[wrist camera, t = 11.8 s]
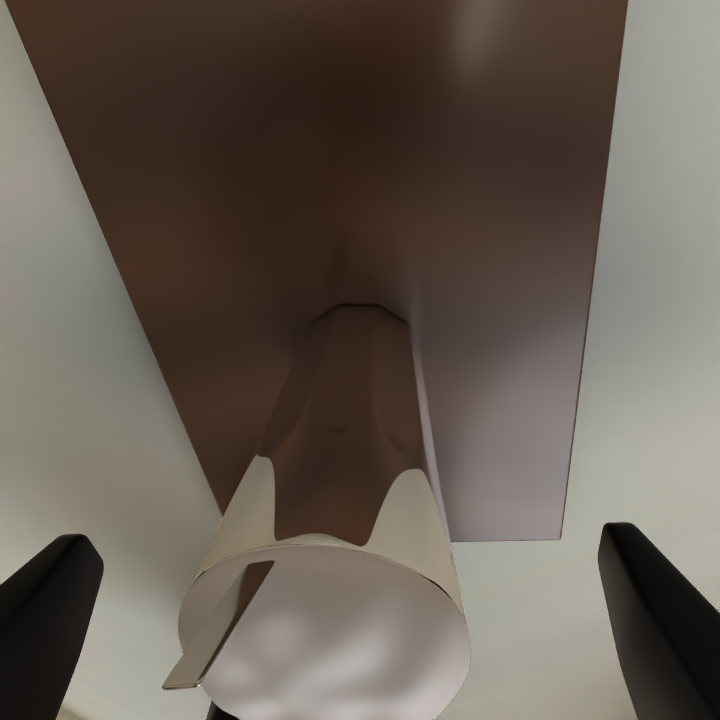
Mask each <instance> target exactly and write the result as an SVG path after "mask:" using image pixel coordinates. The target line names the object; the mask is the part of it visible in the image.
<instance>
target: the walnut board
mask: <svg viewBox="0 0 720 720" xmlns="http://www.w3.org/2000/svg"><path fill="white" fill-rule="evenodd" d="M5 2H6V4H7V7H8V9H9V11H10V14H11V16H12V19H13V21H14V23H15V26H16V28H17V30H18V33H19V35H20V38H21V40H22V42H23V45H24V47H25V49H26V52H27V54H28V56H29V59H30V61H31V64H32V66H33V68H34V71H35V73H36V75H37V78H38V80H39V83H40V85H41V87H42V90H43V92H44V94H45V97H46V99H47V102H48V104H49V106H50V109H51V111H52V113H53V116H54V118H55V121H56V123H57V125H58V128H59V130H60V132H61V135H62V137H63V140H64V142H65V144H66V147H67V149H68V151H69V154H70V156H71V158H72V161H73V163H74V166H75V168H76V170H77V173H78V175H79V177H80V180H81V182H82V185H83V187H84V189H85V192H86V194H87V196H88V199H89V201H90V204H91V206H92V208H93V211H94V213H95V215H96V218H97V220H98V223H99V225H100V227H101V230H102V232H103V234H104V237H105V239H106V242H107V244H108V246H109V249H110V251H111V253H112V256H113V258H114V260H115V263H116V265H117V268H118V270H119V272H120V275H121V277H122V279H123V282H124V284H125V287H126V289H127V291H128V294H129V296H130V298H131V301H132V303H133V306H134V308H135V310H136V313H137V315H138V317H139V320H140V322H141V325H142V327H143V329H144V332H145V334H146V336H147V339H148V341H149V344H150V346H151V348H152V351H153V353H154V355H155V358H156V360H157V362H158V365H159V367H160V370H161V372H162V374H163V377H164V379H165V381H166V384H167V386H168V389H169V391H170V393H171V396H172V398H173V400H174V403H175V405H176V408H177V410H178V412H179V415H180V417H181V419H182V422H183V424H184V427H185V429H186V431H187V434H188V436H189V438H190V441H191V443H192V446H193V448H194V450H195V453H196V455H197V457H198V460H199V462H200V464H201V467H202V469H203V472H204V474H205V476H206V479H207V481H208V483H209V486H210V488H211V491H212V493H213V495H214V498H215V500H216V502H217V505H218V507H219V510H220V512H221V514H222V517H223V516H224V514H225V512H226V510H227V508H228V506H229V504H230V502H231V499H232V497H233V495H234V493H235V491H236V489H237V487H238V485H239V483H240V481H241V479H242V477H243V475H244V473H245V470H246V468H247V466H248V464H249V462H250V460H251V458H252V456H253V454H254V452H255V449H256V447H257V445H258V443H259V441H260V438H261V436H262V434H263V431H264V429H265V427H266V424H267V422H268V420H269V417H270V415H271V413H272V410H273V408H274V406H275V403H276V401H277V399H278V396H279V394H280V392H281V389H282V387H283V385H284V382H285V380H286V378H287V375H288V373H289V371H290V368H291V366H292V364H293V361H294V359H295V357H296V354H297V352H298V350H299V347H300V345H301V343H302V340H303V338H304V336H305V333H306V331H307V329H308V327H309V325H310V324H312V323H313V322H315V321H316V320H318V319H320V318H321V317H323V316H324V315H326V314H327V313H329V312H330V311H332V310H333V309H335V308H336V307H338V306H378V307H380V308H381V309H383V310H384V311H386V312H388V313H389V314H391V315H392V316H394V317H395V318H397V319H399V320H400V321H402V322H403V323H405V324H406V325H408V326H409V327H410V330H411V333H412V336H413V339H414V342H415V345H416V347H417V350H418V353H419V356H420V359H421V365H422V371H423V378H424V385H425V391H426V398H427V404H428V411H429V418H430V424H431V431H432V437H433V444H434V451H435V457H436V464H437V470H438V477H439V483H440V489H441V495H442V500H443V505H444V510H445V515H446V520H447V525H448V530H449V535H450V540H451V542H472V541H527V540H560V539H561V534H562V526H563V518H564V510H565V502H566V494H567V486H568V478H569V470H570V462H571V454H572V446H573V438H574V430H575V422H576V414H577V406H578V398H579V390H580V382H581V374H582V366H583V358H584V350H585V342H586V334H587V326H588V318H589V310H590V302H591V294H592V286H593V278H594V270H595V262H596V254H597V246H598V238H599V230H600V222H601V214H602V206H603V198H604V190H605V182H606V174H607V166H608V158H609V150H610V142H611V134H612V126H613V118H614V110H615V102H616V94H617V86H618V78H619V70H620V62H621V54H622V46H623V38H624V30H625V22H626V14H627V6H628V0H5Z"/></svg>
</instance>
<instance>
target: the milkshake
mask: <svg viewBox="0 0 720 720" xmlns="http://www.w3.org/2000/svg"><path fill="white" fill-rule="evenodd" d="M178 633H179V640H180V644H181V647H182V650H183V653H184V654H183V655H182V657H181V658H180V660H179V661H178V663H177V664H176V666H175V667H174V669H173V670H172V671H171V673H170V674H169V676H168V677H167V679H166V680H165V682H164V684H163V686H162V688H163V689H164V690H177V689H187V688H195V687H197V686H199V685H200V684H201V686H202V687H203V689H204V690H205V691H206V693H207V694H208V695H209V697H210V698H211V699H212V701H213V702H214V703H215V704H216V705H217V706H218V707H219V708H220V709H222V710H223V711H225V712H227V713H229V714H231V715H233V716H235V717H237V718H238V719H240V720H433V719H434V718H435V717H437V716H438V715H439V714H440V713H441V712H442V711H443V710H444V708H445V707H446V706H447V705H448V704H449V703H450V702H451V701H452V699H453V698H454V697H455V696H456V694H457V693H458V692H459V690H460V688H461V686H462V685H463V683H464V681H465V679H466V677H467V674H468V671H469V667H470V660H471V646H470V638H469V633H468V629H467V626H466V619H465V614H464V608H463V603H462V598H461V593H460V587H459V582H458V577H457V572H456V566H455V561H454V556H453V551H452V546H451V540H450V535H449V530H448V525H447V520H446V515H445V510H444V505H443V500H442V495H441V489H440V483H439V477H438V470H437V464H436V457H435V451H434V444H433V437H432V431H431V424H430V418H429V411H428V404H427V398H426V391H425V385H424V378H423V371H422V365H421V359H420V356H419V353H418V350H417V347H416V345H415V342H414V339H413V336H412V333H411V330H410V327H409V326H408V325H406V324H405V323H403V322H402V321H400V320H399V319H397V318H395V317H394V316H392V315H391V314H389V313H388V312H386V311H384V310H383V309H381V308H380V307H378V306H338V307H336V308H335V309H333V310H332V311H330V312H329V313H327V314H326V315H324V316H323V317H321V318H320V319H318V320H316V321H315V322H313V323H312V324H310V325H309V327H308V329H307V331H306V333H305V336H304V338H303V340H302V343H301V345H300V347H299V350H298V352H297V354H296V357H295V359H294V361H293V364H292V366H291V368H290V371H289V373H288V375H287V378H286V380H285V382H284V385H283V387H282V389H281V392H280V394H279V396H278V399H277V401H276V403H275V406H274V408H273V410H272V413H271V415H270V417H269V420H268V422H267V424H266V427H265V429H264V431H263V434H262V436H261V438H260V441H259V443H258V445H257V447H256V449H255V452H254V454H253V456H252V458H251V460H250V462H249V464H248V466H247V468H246V470H245V473H244V475H243V477H242V479H241V481H240V483H239V485H238V487H237V489H236V491H235V493H234V495H233V497H232V499H231V502H230V504H229V506H228V508H227V510H226V512H225V514H224V516H223V518H222V520H221V522H220V525H219V527H218V529H217V531H216V533H215V535H214V537H213V539H212V541H211V543H210V546H209V548H208V550H207V552H206V554H205V556H204V558H203V560H202V562H201V564H200V567H199V569H198V571H197V573H196V575H195V577H194V579H193V581H192V584H191V586H190V588H189V590H188V592H187V594H186V596H185V598H184V600H183V603H182V606H181V610H180V614H179V621H178Z"/></svg>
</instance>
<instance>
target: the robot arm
mask: <svg viewBox="0 0 720 720" xmlns="http://www.w3.org/2000/svg"><path fill="white" fill-rule="evenodd" d="M598 565H599V571H600V575H601V580H602V585H603V589H604V594H605V599H606V603H607V608H608V612H609V617H610V622H611V626H612V631H613V636H614V640H615V645H616V649H617V654H618V658H619V662H620V666H621V669H622V672H623V676H624V679H625V682H626V685H627V688H628V691H629V694H630V697H631V700H632V703H633V706H634V709H635V712H636V715H637V718H638V720H720V613H719V612H718V611H717V610H716V609H715V608H714V607H713V606H712V605H711V604H710V603H709V602H708V601H707V599H706V598H705V597H704V596H703V595H702V594H701V593H700V592H699V591H698V590H697V589H696V588H695V587H694V586H693V585H692V584H691V583H690V582H689V581H688V580H687V579H686V578H685V577H684V576H683V575H682V574H681V573H680V571H679V570H678V569H677V568H676V567H675V566H674V565H673V564H672V563H671V562H670V561H669V560H668V559H667V558H666V557H665V556H664V555H663V554H662V553H661V552H660V551H659V550H658V549H657V548H656V547H655V546H654V545H653V543H652V542H651V541H650V540H649V539H648V538H647V537H646V536H645V535H644V534H643V533H642V532H641V531H640V530H639V529H638V528H637V527H636V526H635V525H633V524H631V523H628V522H617V523H606V524H605V525H604V527H603V530H602V535H601V540H600V545H599V551H598ZM103 570H104V564H103V560H102V558H101V557H100V555H99V554H98V552H97V551H96V549H95V548H94V546H93V545H92V543H91V542H90V540H89V539H88V537H87V536H85V535H83V534H65V535H61V536H59V537H58V538H56V539H55V540H54V541H53V542H51V543H50V544H49V545H48V546H47V547H45V548H44V549H43V550H42V551H41V552H39V553H38V554H37V555H36V556H35V557H33V558H32V559H31V560H30V561H29V562H27V563H26V564H25V565H24V566H23V567H21V568H20V569H19V570H18V571H17V572H15V573H14V574H13V575H12V576H11V577H9V578H8V579H7V580H6V581H5V582H3V583H2V584H1V585H0V720H56V717H57V714H58V712H59V709H60V707H61V704H62V701H63V699H64V696H65V694H66V691H67V688H68V686H69V683H70V681H71V678H72V676H73V673H74V670H75V667H76V665H77V662H78V659H79V656H80V653H81V650H82V647H83V643H84V640H85V636H86V633H87V629H88V626H89V622H90V619H91V615H92V611H93V608H94V604H95V601H96V597H97V594H98V590H99V587H100V583H101V580H102V576H103ZM206 720H240V719H238V718H237V717H235V716H233V715H231V714H229V713H227V712H225V711H223V710H222V709H220V708H219V707H218V706H217V705H216V704H215V703H214V702H213V701H212V700H211V704H210V708H209V711H208V715H207V719H206Z"/></svg>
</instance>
